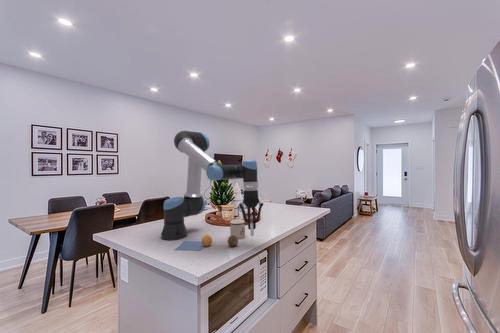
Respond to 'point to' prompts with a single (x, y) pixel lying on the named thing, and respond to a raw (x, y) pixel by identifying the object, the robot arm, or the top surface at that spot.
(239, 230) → the teacup with lid
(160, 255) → the top surface
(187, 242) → the mark
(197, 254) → the top surface
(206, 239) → the orange ball
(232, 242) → the walnut ball
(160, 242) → the top surface
